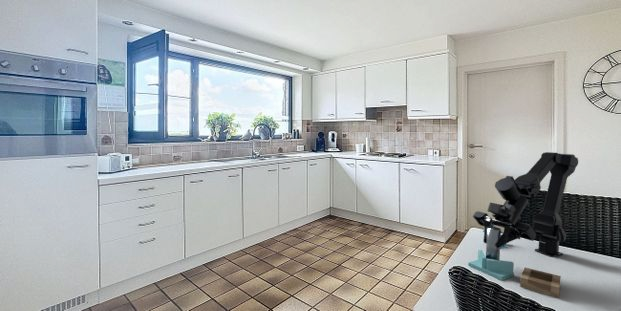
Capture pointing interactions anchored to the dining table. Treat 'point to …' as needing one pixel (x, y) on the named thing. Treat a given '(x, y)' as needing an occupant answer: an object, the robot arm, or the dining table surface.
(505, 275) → the v block
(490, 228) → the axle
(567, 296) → the dining table surface
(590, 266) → the dining table surface
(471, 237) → the dining table surface
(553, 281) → the block
